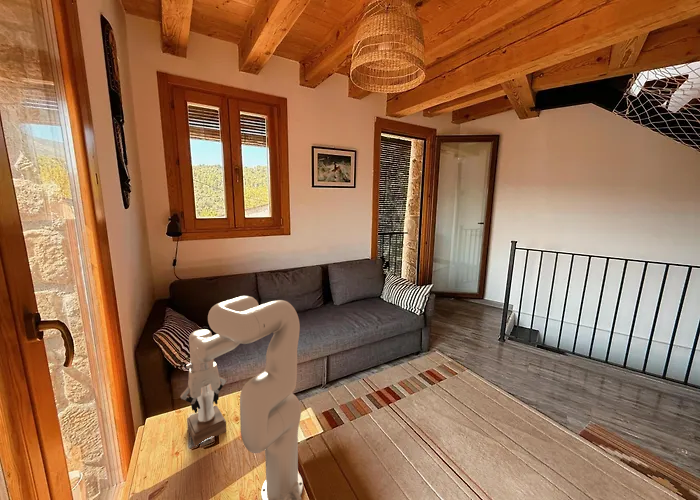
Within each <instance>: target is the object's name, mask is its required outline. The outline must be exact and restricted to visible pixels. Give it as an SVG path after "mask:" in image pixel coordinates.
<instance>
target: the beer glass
mask: <svg viewBox="0 0 700 500" xmlns="http://www.w3.org/2000/svg"><path fill="white" fill-rule="evenodd" d="M214 396H215V391H212V387H211V384H208V385H206V386H202V388H201V396H199V397H197V398H196V402H197V413H198V417H197V420H198V421H199V422H201V423H205V422H208V421H210V420H212V419H213V418H214V416H215V411H214V405H215V403H214Z"/></svg>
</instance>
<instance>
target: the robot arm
mask: <svg viewBox="0 0 700 500" xmlns="http://www.w3.org/2000/svg"><path fill="white" fill-rule="evenodd" d="M207 323H208V325H209V328H210V329H211V330H212V331H213V332H214V333H215V334H214V335H213V334H212V331H211V330H209V329H205V328H204V329H203V328H202V329H197V330H194V331H192V332H191V333H190V334H189V336H188V344H189V345H188V346H189V357H190V359H189V360H190V361H189V363H188V364H186V367H185V368H186V370H188V369H189V370H188V375H187V376H188V379H187V380H188V381H187V382H188V383H187V387H186V389H185V390H183V392H181V395H180V399H181V400H184V401H186V403H187V402H188V403H190V404H191V411H194V413H195V414H197V413H198V408H197V402H196V398H197V397H199V396H201V388H202V386H206V385H208V384H211V387H212V391H215V396H214V405H218V404H219V403H218V400H219V399H220V397H219V393H220V391H221V390H222V389H223V387H224V385H225V384H226V383H227V379H226V378H224V377H221V376H220V374H219V373H220V372H219V369H218V365H217V363H216V361H215V359H216V358H219V357H220V356H222V355H224V354H227V353H229V352H230V351H233V350H234V349H236V348H238V346H239V345H240V344H243V345H246V344H247V345H248V344H251V343H254V342H256V341H259V340H260V339H263V338H264V337H266V336H269V335H271V334H273V335H272V337H271V339H270V342H269V343H268V346H267V348H266V354H265V358H266V359H265V361H266V364H265V368H264V369H263V370H262V371H261V372H260V373H258V374H257V375H255V376H253V377H251V378H250V379H249V380H247V382H246V383H245V384H244V385H243V386H242V389H241V392H240V395H239V396H240V397H239V410H240V411H239V412H240V413H239V418H240V436H241V440H242V442H243V445H244V446H245V448H246V450H247V451H248V452H250V453H252V454H260V453H262V452H264V454H265V456H264V457H265V459H264V460H265V480H264V481H263V484H262V487H261V490H260V491H261V492H260V495H261V496H260V497H261V500H302V497H301V496H302V493H303V490H304V480H303V478H302V476H301V473H299V463H298V462H299V451H298V450H299V448H298V447H299V445H298V444H299V443H298V442H299V440H298V439H299V427H300V426H299V425H300V421H301V418H302V414H301V413H302V409H301V408H302V407H301V403H300V400H299V399H298V397H297V396H296V394H294V392H295V390H296V387H297V386H296V385H297V381H298V380H297V377H298V348H299V347H298V346H299V339H300V327H301V326H300V319H299V316H298V313H297V311H296V309H295V307H294V306H293V305H292V304H291V303H290V302H289V301H287V300H283V299H277V300H276V299H275V300H272V301H268V302H265V303H262V304H260V305H259V302H258V300H257V299H255V298H254V297H253V296H249V295H240V296H238V297H234V298H231V299H227V300H224V301H221V302H218V303H216V304H214V305H213V306H212V307H211V308H210V310H209V311H208V315H207ZM188 394H189V395H188Z"/></svg>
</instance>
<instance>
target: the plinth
mask: <svg viewBox="0 0 700 500" xmlns="http://www.w3.org/2000/svg"><path fill="white" fill-rule="evenodd" d="M213 407H214V411H215V416H214V418H213V419H212V420H210V421H208V422H205V423H201V422H199V421H198V420H197V417H198V412H197V413H195V414H192V415H190V416H188V417H187V418H186V422H187V423H186V424H187V430H188V432H189V435H190V438H191V437H192V438H191V440H192V443H193V445H195V446H196V445H198V444H199V443H201V442H202V441H204V440H205V439H207V438H209V437H211V436H216V437H218V436H220V435H222V434H224V433H226V432H227V421H226V419H225V417H224V415H223V414H222V412H221V410H220V408H219V407H218V405H213ZM195 446H194V447H195ZM198 446H199V445H198ZM196 447H197V446H196Z"/></svg>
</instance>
